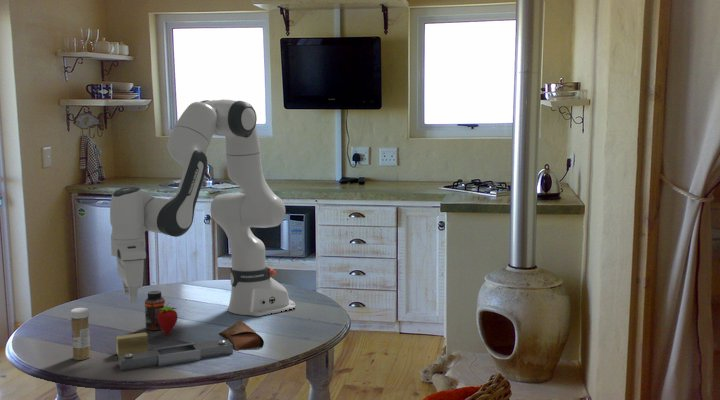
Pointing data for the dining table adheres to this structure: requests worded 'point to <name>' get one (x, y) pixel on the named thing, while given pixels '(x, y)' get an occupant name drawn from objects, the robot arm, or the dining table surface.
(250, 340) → the sunglasses case
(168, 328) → the strawberry
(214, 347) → the grey slotted link bar
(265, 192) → the robot arm
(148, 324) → the supplement bottle
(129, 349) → the khaki rectangular block
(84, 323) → the sprinkles bottle
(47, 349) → the dining table surface
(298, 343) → the dining table surface
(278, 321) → the dining table surface
